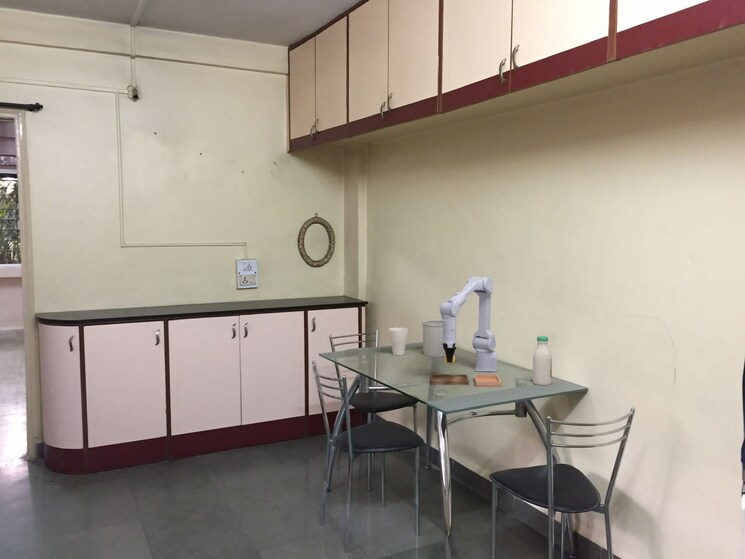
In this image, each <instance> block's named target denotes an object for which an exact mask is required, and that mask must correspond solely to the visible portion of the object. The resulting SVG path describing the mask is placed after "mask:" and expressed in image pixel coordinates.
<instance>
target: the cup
mask: <svg viewBox="0 0 745 559" xmlns="http://www.w3.org/2000/svg"><path fill="white" fill-rule="evenodd" d="M387 330H388V338H389V342H390V345H391V349H392V350H391V351H392V355H393V354H394V355H393V356H404V355H405V350H406V349H405V348H406V344H407V341H408V340H407V339H408V335H409V334H408V333H409V328H407V327H389V328H388V329H387ZM403 354H404V355H403Z"/></svg>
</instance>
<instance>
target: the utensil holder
mask: <svg viewBox="0 0 745 559" xmlns="http://www.w3.org/2000/svg"><path fill="white" fill-rule="evenodd" d="M421 325H422V344H423V345H422V347H423V355H424V356H427V357H430V356H431V357H433V358H434V357H435V358H442V356H443V357H444V356H445V355H446V354H445V350H444V348H443V342H440V340H443V319H442V318H438V319H437V318H435V319H431V318H430V319H424V320H422V321H421ZM431 357H430V358H431Z"/></svg>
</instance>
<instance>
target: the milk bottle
mask: <svg viewBox="0 0 745 559" xmlns="http://www.w3.org/2000/svg"><path fill="white" fill-rule="evenodd" d="M548 343H549V336H545V335H540V336H539V335H538V336H537V337H536V347H535V350H534V352H533V356H532V382H533V384H535V385H539V386H549V385H551V384H552V382H553V381H552V380H553V379H552V374H553V373H552V372H553V371H552V370H553V369H552V368H553V367H552V366H553V365H552V364H553V363H552V362H553V361H552V358H553V356H552V354H551V350H550V347H549V344H548Z"/></svg>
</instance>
